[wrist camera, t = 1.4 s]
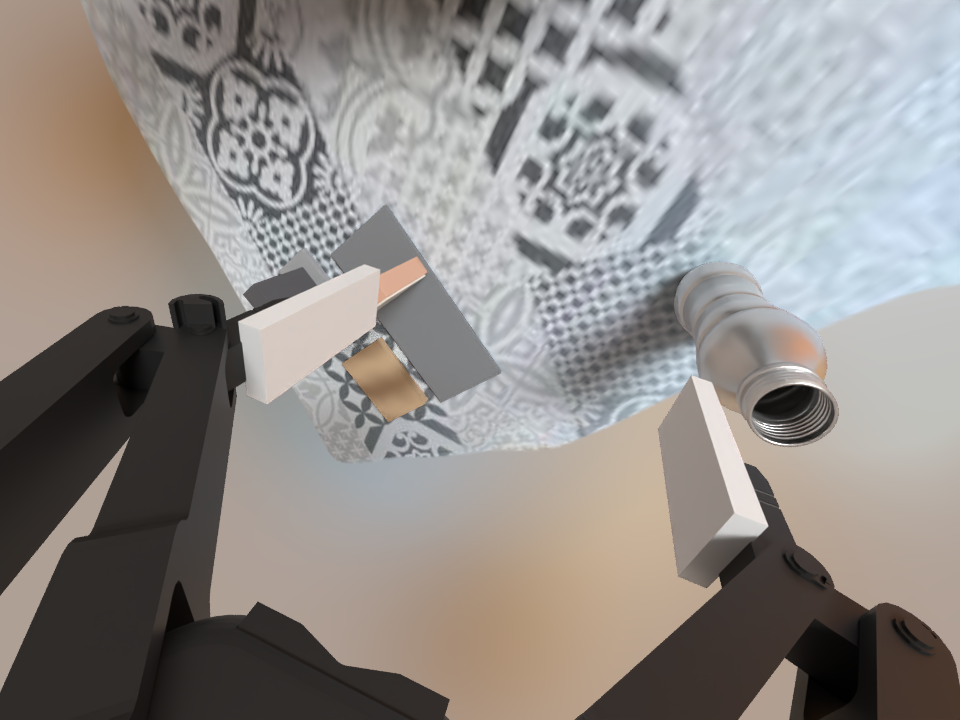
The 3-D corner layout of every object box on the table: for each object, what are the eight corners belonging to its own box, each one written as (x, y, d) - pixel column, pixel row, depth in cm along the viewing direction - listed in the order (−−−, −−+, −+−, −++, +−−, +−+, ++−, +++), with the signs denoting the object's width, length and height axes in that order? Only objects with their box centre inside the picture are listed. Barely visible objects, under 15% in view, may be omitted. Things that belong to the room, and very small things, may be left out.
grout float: (284, 269, 49) (227, 289, 42) (306, 247, 47) (249, 264, 39) (330, 328, 51) (283, 356, 44) (354, 310, 49) (308, 337, 41)
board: (347, 359, 52) (341, 363, 51) (381, 336, 49) (376, 340, 48) (392, 417, 55) (388, 422, 54) (428, 399, 51) (424, 404, 50)
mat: (333, 253, 46) (330, 254, 45) (386, 204, 41) (384, 205, 41) (442, 400, 51) (440, 402, 50) (501, 371, 46) (500, 373, 45)
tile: (364, 296, 46) (314, 324, 39) (417, 256, 42) (372, 278, 34) (375, 312, 47) (328, 342, 39) (429, 273, 43) (387, 299, 35)
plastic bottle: (681, 335, 38) (731, 480, 21) (661, 271, 36) (699, 372, 19) (759, 314, 35) (889, 461, 18) (742, 243, 33) (871, 333, 16)
